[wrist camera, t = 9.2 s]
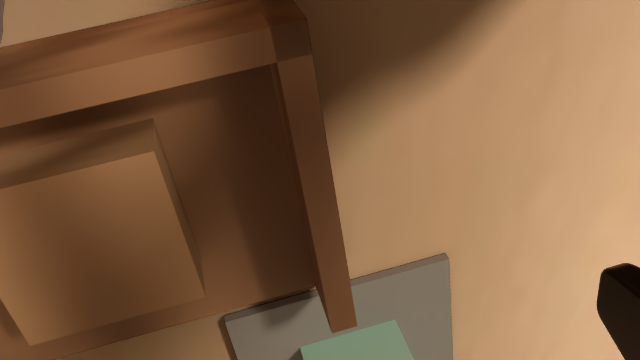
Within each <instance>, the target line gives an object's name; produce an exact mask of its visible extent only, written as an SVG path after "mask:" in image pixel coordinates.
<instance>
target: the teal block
mask: <svg viewBox="0 0 640 360" xmlns="http://www.w3.org/2000/svg"><path fill="white" fill-rule="evenodd" d="M300 349H301V353H302V357H303V360H414V358H413V356H412V354H411V352H410V350H409V348H408V346H407V343H406V341H405V339H404V337H403V335H402V333H401V331H400V329H399V326H398V324H397V322H396V320H392V321H388V322H385V323H382V324H378V325H375V326H371V327H368V328H364V329H361V330H358V331H354V332H351V333H347V334H344V335H340V336H337V337H334V338H330V339H327V340H323V341H320V342H316V343H313V344H309V345H306V346H303V347H300Z"/></svg>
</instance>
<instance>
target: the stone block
mask: <svg viewBox="0 0 640 360" xmlns="http://www.w3.org/2000/svg"><path fill="white" fill-rule="evenodd" d="M3 12H4V0H0V43H1V40H2V33H3Z"/></svg>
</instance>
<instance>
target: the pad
mask: <svg viewBox="0 0 640 360" xmlns="http://www.w3.org/2000/svg"><path fill="white" fill-rule="evenodd" d="M350 284H351V290H352V296H353V302H354V308H355V314H356V320H357V326H356V327H353V328H349V329H346V330H343V331H339V332H336V333H332V332H331V329H330V326H329V323H328V320H327V318H326V315H325V312H324V309H323V306H322V303H321V300H320V297H319V294H318V291H317V290H313V291H310V292H306V293H303V294H299V295H296V296H292V297H289V298H285V299H281V300H278V301H274V302H271V303H267V304H264V305H260V306H257V307H253V308H250V309H246V310H243V311H239V312H235V313H232V314H228V315H225V316H224V320H225V324H226V327H227V330H228V333H229V336H230V339H231V342H232V345H233V347H234V350H235V353H236V356H237V359H238V360H303V357H302V353H301V349H300V347H303V346H306V345H309V344H313V343H316V342H320V341H323V340H327V339H330V338H334V337H337V336H340V335H344V334H347V333H351V332H354V331H358V330H361V329H364V328H368V327H371V326H375V325H378V324H382V323H385V322H388V321H392V320H396V322H397V324H398V326H399V329H400V331H401V333H402V335H403V337H404V339H405V341H406V343H407V346H408V348H409V350H410V352H411V354H412V356H413V358H414V360H453V342H452V316H451V290H450V265H449V258H448V256H447V255H446V253H444V254H441V255H437V256H434V257H430V258H426V259H423V260H419V261H416V262H412V263H409V264H405V265H402V266H398V267H395V268H391V269H388V270H384V271H381V272H377V273H373V274H370V275H366V276H363V277H359V278H356V279H352V280H350Z"/></svg>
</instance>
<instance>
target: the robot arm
mask: <svg viewBox="0 0 640 360" xmlns="http://www.w3.org/2000/svg"><path fill="white" fill-rule="evenodd" d="M597 310H598V314H599V316H600V318H601V320H602V322H603V324H604V325H605V327H606V329H607V330H608V332H609V334H610V335H611V337H612V339H613V340H614V342H615V344H616V345H617V347H618V349H619V350H620V352H621V354H622V355H623V357H624V359H625V360H640V267H637V266H635V265H633V264H629V263H623V264H619V265H616V266H612V267H609V268H606V269H604V270H603V272H602V273H601V277H600V283H599V290H598V297H597Z"/></svg>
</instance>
